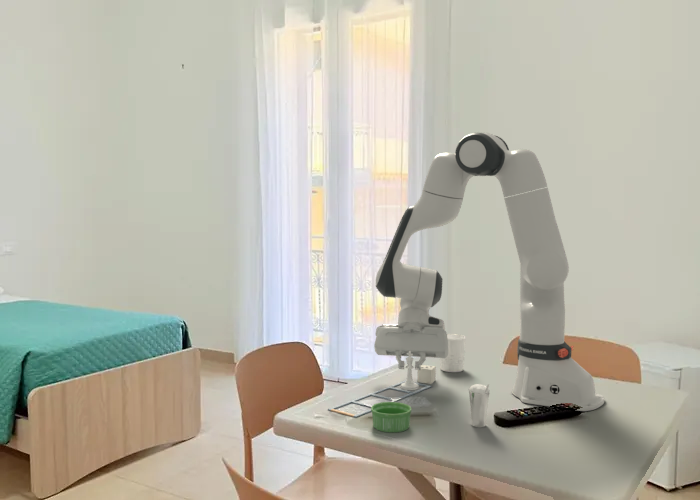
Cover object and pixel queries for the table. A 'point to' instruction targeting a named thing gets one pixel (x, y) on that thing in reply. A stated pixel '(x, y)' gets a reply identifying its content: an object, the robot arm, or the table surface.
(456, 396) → the table surface
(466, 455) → the table surface
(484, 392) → the milkshake
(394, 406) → the ramekin
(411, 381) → the chess piece
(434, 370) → the die
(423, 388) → the ladder
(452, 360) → the white cup
